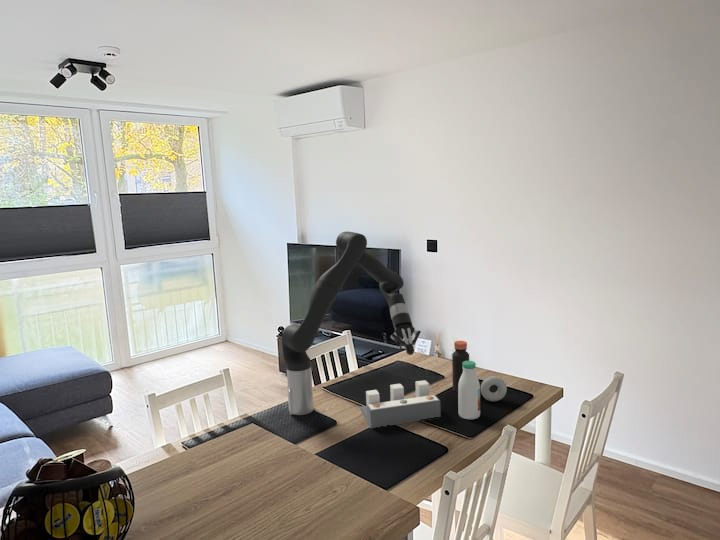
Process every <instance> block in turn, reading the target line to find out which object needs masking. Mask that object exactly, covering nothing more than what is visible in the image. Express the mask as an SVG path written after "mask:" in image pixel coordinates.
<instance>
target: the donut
mask: <svg viewBox="0 0 720 540" xmlns="http://www.w3.org/2000/svg"><path fill="white" fill-rule="evenodd" d="M492 386H496V387H497V390H496V391H495V392H493V391H492V392H491V391H490V388H491V387H492ZM507 390H508V388H507V383H506V382H505V380H503V378H501V377H499V376H497V375H496V376H495V375H492V376H491V375H490V376H488V377H486V378H484V379H483V381H482V382H481V384H480V395H482V397H483V398H484V399H485V400H486V401H488V402H498V401H501V400H502V399H503V398H504V397H505V396H506V394H507Z"/></svg>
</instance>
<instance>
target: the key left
mask: <svg viewBox="0 0 720 540" xmlns="http://www.w3.org/2000/svg"><path fill="white" fill-rule="evenodd" d="M380 397H381V396H380V393H379V391H378V389H372V390H366V391H365V400H366V401H365V403H366V404H365V406H367V405H368V404H374V403H381V401H380Z"/></svg>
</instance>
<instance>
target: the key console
mask: <svg viewBox="0 0 720 540" xmlns="http://www.w3.org/2000/svg"><path fill="white" fill-rule="evenodd" d="M429 395H430V396H423V397H416V396H415V397H410V398H409V397H408V398H404V399H402V400H395V401H391V400H388V401H383V402H382V401H380V403H374V404H368V405H363V406H360V412H361V414H363V417H364V419H365V420H366V422H367V424H368V426H369V427H370V429H375V428H376V427H377V428H381V426H383V427H388V426H387V425H390V426H394V425H403V424H408V423H414V422H420V421H419V420H421V419H427V418H434V417H442V415H441V413H442V412H441V400H440V398H438V396H437V395H435V394H429Z"/></svg>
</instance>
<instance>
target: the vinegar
mask: <svg viewBox="0 0 720 540" xmlns="http://www.w3.org/2000/svg"><path fill="white" fill-rule="evenodd" d="M467 349H468V342H467V341H464V340H456V341H455V342H454V351H453V353H452V355H451V358H452V361H451V362H452V364H451V366H452V368H451V369H452V371H451V372H452V390H453V391H454V392H456V393H458V384H459V380H460V377H461V375H462V373H463V368H462V363H463V362H464V361H470V353H469V352H467Z"/></svg>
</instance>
